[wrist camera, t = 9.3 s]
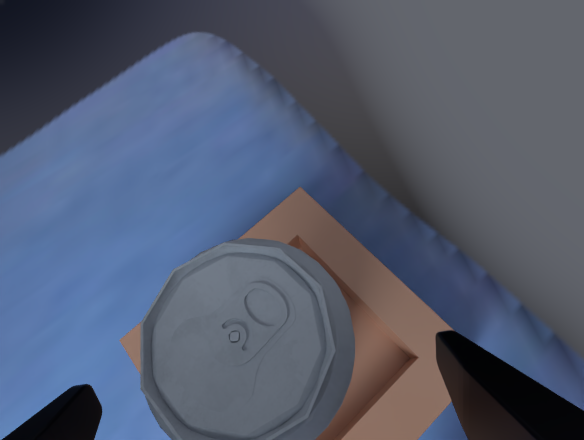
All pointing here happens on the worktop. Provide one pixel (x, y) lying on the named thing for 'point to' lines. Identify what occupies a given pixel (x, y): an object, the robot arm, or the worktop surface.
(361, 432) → the holder
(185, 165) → the worktop surface
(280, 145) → the worktop surface
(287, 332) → the beer can
